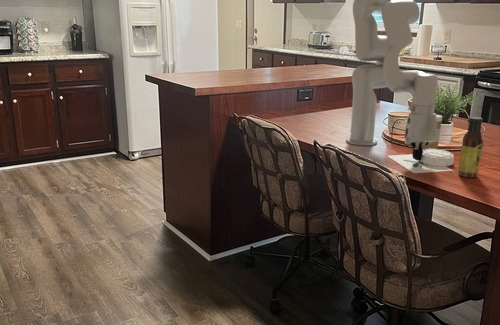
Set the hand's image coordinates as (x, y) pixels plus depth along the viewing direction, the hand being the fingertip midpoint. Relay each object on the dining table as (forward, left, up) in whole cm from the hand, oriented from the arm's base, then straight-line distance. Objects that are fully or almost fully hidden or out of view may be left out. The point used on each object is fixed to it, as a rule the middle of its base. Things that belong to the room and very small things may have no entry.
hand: (416, 159), depth 176 cm
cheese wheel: (0, +8, -2) cm, 8 cm away
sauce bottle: (+15, +10, -2) cm, 18 cm away
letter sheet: (0, +1, -2) cm, 2 cm away
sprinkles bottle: (-16, +16, -2) cm, 23 cm away
